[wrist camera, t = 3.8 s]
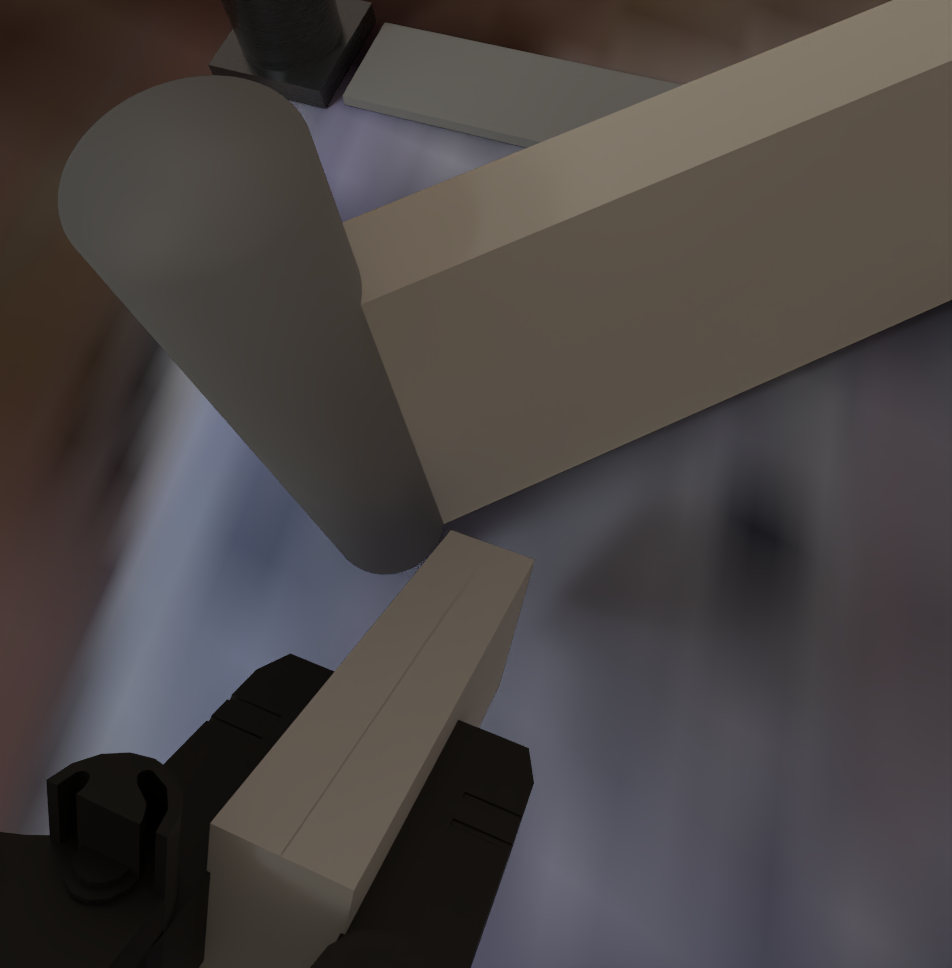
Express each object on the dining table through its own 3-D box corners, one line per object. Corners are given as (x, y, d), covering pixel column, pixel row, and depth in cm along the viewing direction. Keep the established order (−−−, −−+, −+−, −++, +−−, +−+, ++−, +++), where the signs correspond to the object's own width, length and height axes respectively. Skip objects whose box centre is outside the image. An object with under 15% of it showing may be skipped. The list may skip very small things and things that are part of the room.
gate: (1004, 197, 18) (1499, -426, 9) (1074, 273, 17) (1705, -330, 8) (317, 495, 17) (35, 131, 7) (355, 593, 16) (89, 322, 6)
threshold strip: (345, 104, 22) (342, 95, 22) (386, 31, 23) (384, 22, 22) (962, 250, 18) (968, 242, 18) (982, 158, 19) (988, 149, 19)
